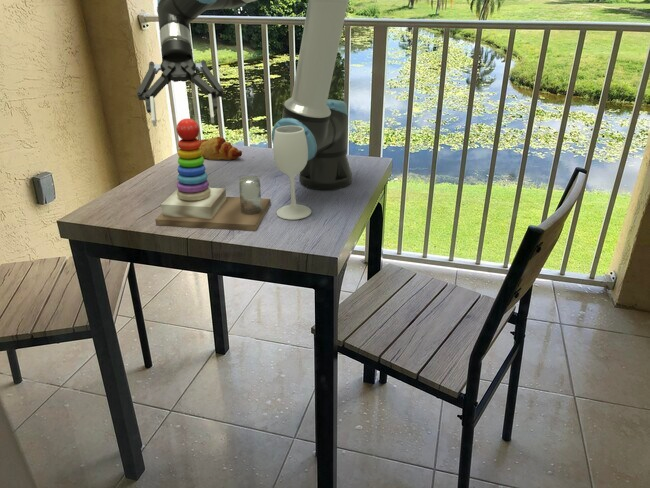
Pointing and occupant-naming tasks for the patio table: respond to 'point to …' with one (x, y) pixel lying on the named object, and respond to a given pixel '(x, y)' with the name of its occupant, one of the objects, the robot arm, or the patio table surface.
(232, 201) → the board
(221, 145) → the croissant
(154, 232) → the patio table surface
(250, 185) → the grey brown short cylinder
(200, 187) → the stacking toy
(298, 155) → the wineglass
